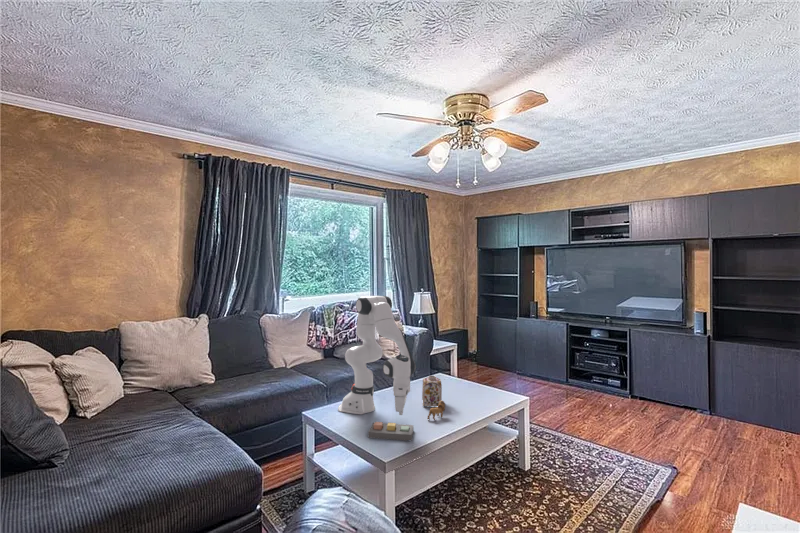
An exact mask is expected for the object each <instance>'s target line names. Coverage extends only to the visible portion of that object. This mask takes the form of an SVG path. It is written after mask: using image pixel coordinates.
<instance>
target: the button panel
mask: <svg viewBox="0 0 800 533" xmlns="http://www.w3.org/2000/svg"><path fill="white" fill-rule="evenodd" d="M374 423H375V422H372V423H371V426H370V427H369V430H368V436H367V438H368V439H378V440H379V439H380V440H393V441H394V440H395V441H407V440H411V441H412V439H413V435H414V425H413V424H403V423H401V424H399V423H398V424H397V423H396V430H395V431H392V430H387V425H388V423H387V422H386V423H383V429H382V430H377V429H374ZM401 426H409V432H407V431H401Z"/></svg>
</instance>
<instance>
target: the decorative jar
mask: <svg viewBox="0 0 800 533" xmlns="http://www.w3.org/2000/svg"><path fill="white" fill-rule="evenodd" d="M442 386H443V385H442V379H441V378H439V377H437V376H436V375H428V377H424V378H422V391H421V393H422V394H421V397H422V398H421V400H423V403H422V407H423V406H438V404H439V401H443V400H442V399H443V398H442V396H443V394H442V391H443V389H442V388H443V387H442Z"/></svg>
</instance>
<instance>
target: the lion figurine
mask: <svg viewBox="0 0 800 533" xmlns="http://www.w3.org/2000/svg"><path fill="white" fill-rule="evenodd" d="M445 409H446V402H445V401H444V400H442V401H439V404H438V407H430V409H429V412H428V415H427V419H429V420H427V421H428V422H430V421H431V420H430V416H432V419H433V421H434V420H435V419H436V418H435V417H437V416H439V417H440V418H441V417H444V415H443V414H444V412H445Z"/></svg>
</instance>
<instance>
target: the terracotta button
mask: <svg viewBox="0 0 800 533" xmlns="http://www.w3.org/2000/svg"><path fill="white" fill-rule="evenodd" d="M383 422H384V421H375V422H373V423H374V429H377V430H382V429H383Z"/></svg>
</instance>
